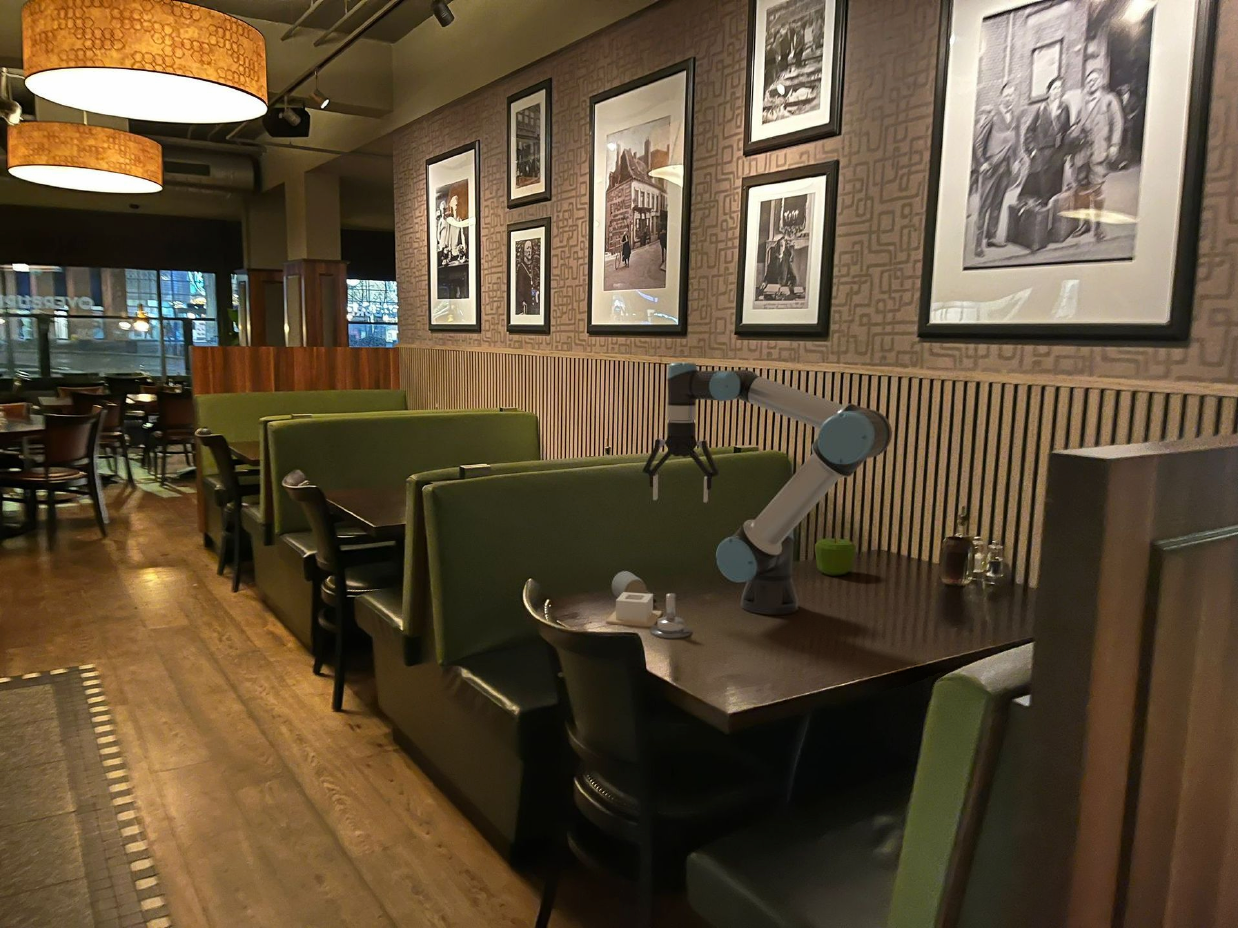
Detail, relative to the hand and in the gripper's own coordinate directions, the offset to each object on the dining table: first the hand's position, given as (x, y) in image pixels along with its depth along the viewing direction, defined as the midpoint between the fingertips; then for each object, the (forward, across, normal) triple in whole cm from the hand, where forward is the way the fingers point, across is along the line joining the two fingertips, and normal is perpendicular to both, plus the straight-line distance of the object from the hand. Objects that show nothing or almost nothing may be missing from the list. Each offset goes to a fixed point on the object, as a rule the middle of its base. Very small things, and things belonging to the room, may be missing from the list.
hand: (680, 500), depth 239 cm
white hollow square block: (+28, +9, +15) cm, 33 cm away
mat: (+29, +9, +15) cm, 34 cm away
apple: (+29, -41, -47) cm, 69 cm away
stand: (+29, -2, +24) cm, 37 cm away
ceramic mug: (+29, +13, -2) cm, 32 cm away
